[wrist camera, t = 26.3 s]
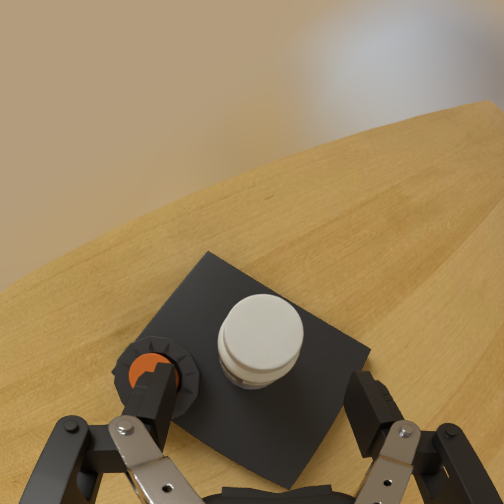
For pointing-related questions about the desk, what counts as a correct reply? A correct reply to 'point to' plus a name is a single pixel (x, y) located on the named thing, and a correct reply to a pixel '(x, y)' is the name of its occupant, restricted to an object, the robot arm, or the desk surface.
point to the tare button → (146, 366)
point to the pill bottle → (259, 341)
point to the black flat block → (237, 398)
